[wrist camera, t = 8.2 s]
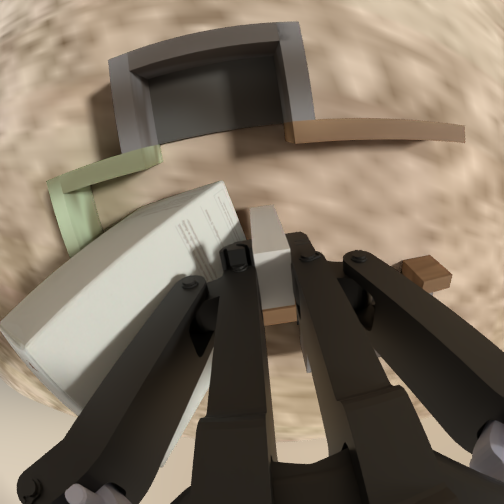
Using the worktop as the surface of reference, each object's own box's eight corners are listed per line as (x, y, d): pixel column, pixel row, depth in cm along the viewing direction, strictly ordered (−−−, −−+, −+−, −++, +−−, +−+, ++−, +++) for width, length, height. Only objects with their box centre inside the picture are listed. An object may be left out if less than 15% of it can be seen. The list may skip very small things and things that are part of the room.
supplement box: (138, 205, 18) (-9, 320, 8) (226, 176, 14) (19, 350, 5) (181, 291, 21) (78, 418, 11) (268, 287, 18) (164, 474, 8)
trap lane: (61, 99, 14) (33, 98, 11) (425, 52, 13) (452, 45, 10) (144, 358, 24) (135, 384, 21) (417, 317, 23) (433, 340, 20)
